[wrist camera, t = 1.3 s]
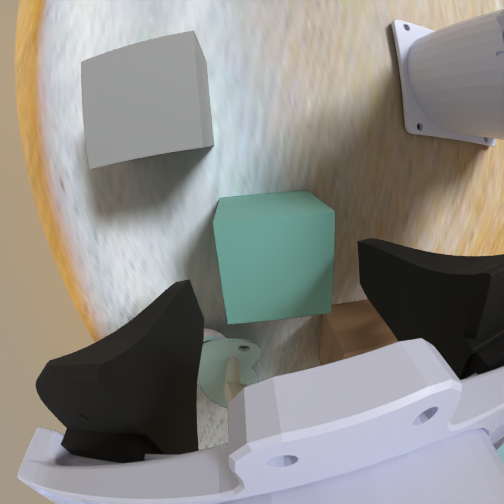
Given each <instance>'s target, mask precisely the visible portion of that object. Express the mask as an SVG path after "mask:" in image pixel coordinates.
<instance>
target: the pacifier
mask: <svg viewBox="0 0 504 504" xmlns="http://www.w3.org/2000/svg"><path fill="white" fill-rule="evenodd" d="M204 341H210V342H207V343H205V344H203V347H202V353H201V360H200V366H199V372H198V379H197V385H198V386H200V387H201V389H202V391H203V392H204V393H205V395H206V396H207V397H208V398H209V399H210V400H211V401H213V402H214V403H216V404H218V405H220V406H222V407H225V408H228V410H229V402H230V401H231V400H232V399H233V398H234V397H235V396H236V395H237V394H238V393H239V392H240V391H241V390H242V389H243V387H241V384H246V385H248V386H250V385H252V384H255V383H258V382H259V378H258V375H257V373H256V371H255V370H254V369H253V365H254V364H255V363H256V362H257V361H258V360H259V359H260V357H261V355H262V350H261V347H260V345H259V344H258V343H257V342H255V341H252V340H247V339H235V338H232V339H227V338H226V337H225V336H224V335H223V334H222V333H220V332H218V331H216V330H213V329H207V328H205V329H204V340H203V342H204ZM241 346H248V347H249V348H247V349H242V347H241Z"/></svg>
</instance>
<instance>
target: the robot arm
mask: <svg viewBox="0 0 504 504" xmlns="http://www.w3.org/2000/svg"><path fill="white" fill-rule="evenodd" d="M391 26H392V30H393V35H394V40H395V46H396V51H397V57H398V64H399V71H400V78H401V87H402V97H403V108H404V123H405V129H406V131H407V132H408V133H410V134H417V135H426V136H434V137H441V138H448V139H454V140H460V141H466V142H472V143H477V144H482V145H487V146H492V147H494V146H495V144H496V139H502V140H504V10H500V11H496V12H492V13H489V14H485V15H481V16H478V17H475V18H472V19H468V20H465V21H462V22H459V23H456V24H453V25H451V26H448V27H445V28H442V29H440V30H437V31H434V30H431V29H428V28H425V27H422V26H419V25H415V24H412V23H409V22H405V21H402V20H394V21H393V22H392V23H391ZM403 26H405V27H406V29H407V30H405V29H404V27H403ZM417 124H419V126H420V129H419V130H418V129H417ZM358 254H359V272H360V284H361V286H362V288H363V290H364V292H365V294H366V296H367V298H368V299H369V301H370V302H371V304H372V305H373V307H374V308H375V309H376V311H377V312H378V313H379V315H380V316H381V317H382V319H383V320H384V322H385V323H386V324H387V326H388V327H389V328H390V330H391V331H392V333H393V334H394V336H395V337H396V339H397V340H398V342H396V343H393V344H390V345H387V346H384V347H381V348H378V349H375V350H372V351H369V352H366V353H363V354H360V355H357V356H353V357H350V358H347V359H343V360H340V361H336V362H333V363H329V364H325V365H321V366H318V367H314V368H310V369H306V370H301V371H297V372H293V373H288V374H284V375H279V376H274V377H271V378H268V379H266V380H263V381H261V382H258V383H255V384H252V385H250V386H247V387H245V388H243V389H242V390H241V391H240V392H239V393H238V394H237V395H236V396H235V397H234V398H233V399H232V400H231V401H230V402H229V422H228V429H229V443H226V444H222V445H219V446H215V447H211V448H207V449H203V450H199V449H198V435H197V411H196V397H197V379H198V372H199V366H200V360H201V353H202V347H203V340H204V318H203V315H202V312H201V310H200V307H199V304H198V302H197V299H196V296H195V293H194V291H193V288H192V285H191V282H190V279H189V280H184V281H180V282H176V283H174V284H173V285H171V286H170V287H169V288H168V289H167V290H165V291H164V292H163V293H162V294H161V295H160V296H159V297H158V298H157V299H156V300H154V301H153V302H152V303H151V304H150V305H149V306H148V307H147V308H145V309H144V310H143V311H142V312H141V313H139V314H138V315H137V316H136V317H135V318H133V319H132V320H131V321H130V322H128V323H127V324H125V325H124V326H123V327H121V328H120V329H118V330H117V331H115V332H113V333H112V334H110V335H108V336H107V337H105V338H103V339H101V340H100V341H98V342H96V343H94V344H92V345H90V346H88V347H85V348H83V349H81V350H79V351H77V352H74V353H71V354H68V355H65V356H62V357H59V358H57V359H53V360H50V361H49V362H48V363H47V364H46V366H45V367H44V369H43V370H42V372H41V374H40V375H39V377H38V379H37V381H36V389H37V392H38V394H39V397H40V398H41V400H42V401H43V403H44V404H45V405H46V406H47V407H48V409H49V410H50V411H51V412H52V413H53V414H54V415H55V416H56V417H57V418H58V420H59V421H61V422H62V424H63V425H64V426H65V427H66V428H67V430H66V433H65V435H63V434H62V433H60V432H58V431H55V430H50V429H45V428H41V427H38V428H37V429H36V431H35V434H34V436H33V438H32V440H31V442H30V445H29V447H28V449H27V452H26V454H25V456H24V459H23V461H22V464H21V466H20V469H19V471H18V474H17V477H18V479H20V480H21V481H22V482H24V483H25V484H27V485H28V486H29V487H31V488H32V489H34V490H35V491H37V492H38V493H40V494H41V495H43V496H44V497H46V498H48V499H49V500H51V501H53V502H54V503H56V504H504V464H503V462H502V460H501V458H500V456H499V455H498V453H497V451H496V450H497V449H498V448H499V447H501V446H502V445H503V444H504V254H502V255H495V256H453V255H444V254H437V253H431V252H426V251H422V250H417V249H413V248H409V247H405V246H402V245H398V244H394V243H391V242H387V241H383V240H379V239H372V238H370V239H366V240H362V241H358Z"/></svg>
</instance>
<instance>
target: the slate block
mask: <svg viewBox="0 0 504 504" xmlns="http://www.w3.org/2000/svg"><path fill="white" fill-rule="evenodd" d="M81 84H82V107H83V121H84V132H85V141H86V149H87V157H88V164H89V169H93V168H97V167H101V166H106V165H110V164H114V163H119V162H123V161H128V160H132V159H137V158H142V157H148V156H153V155H158V154H164V153H170V152H176V151H183V150H189V149H196V148H204V147H209V146H214V139H213V129H212V118H211V108H210V97H209V86H208V74H207V62H206V59H205V57H204V54H203V52H202V49H201V47H200V45H199V42H198V40H197V37H196V35H195V32H194V31H189V32H184V33H178V34H173V35H168V36H164V37H159V38H155V39H151V40H147V41H143V42H139V43H135V44H132V45H128V46H125V47H122V48H119V49H115V50H112V51H109V52H106V53H104V54H101V55H98V56H95V57H93V58H90V59H87V60H85V61H82V62H81Z"/></svg>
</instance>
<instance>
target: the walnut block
mask: <svg viewBox="0 0 504 504" xmlns="http://www.w3.org/2000/svg"><path fill="white" fill-rule="evenodd" d="M396 342H398V340H397V339H396V337H395V336H394V334H393V333H392V331H391V330H390V328H389V327H388V326H387V324H386V323H385V322H384V320H383V319H382V317H381V316H380V315H379V313H378V312H377V311H376V309H375V308H374V307H373V305H372V304H371V302H370V301H369V299H367V300H361V301H355V302H348V303H342V304H335V305H332V307H331V313H325V314H322V323H321V338H320V351H319V359H320V362H321V365H325V364H329V363H333V362H336V361H340V360H343V359H347V358H350V357H353V356H357V355H360V354H363V353H366V352H369V351H372V350H375V349H378V348H381V347H384V346H387V345H390V344H393V343H396Z"/></svg>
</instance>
